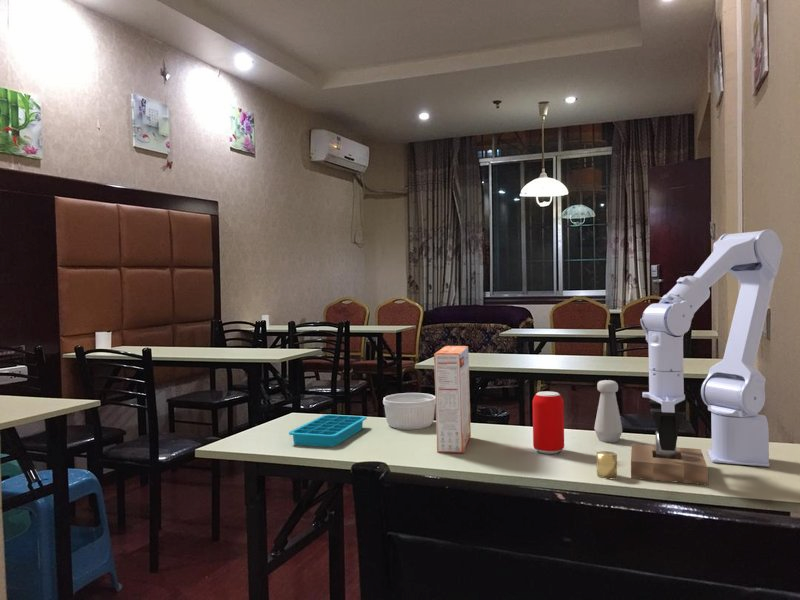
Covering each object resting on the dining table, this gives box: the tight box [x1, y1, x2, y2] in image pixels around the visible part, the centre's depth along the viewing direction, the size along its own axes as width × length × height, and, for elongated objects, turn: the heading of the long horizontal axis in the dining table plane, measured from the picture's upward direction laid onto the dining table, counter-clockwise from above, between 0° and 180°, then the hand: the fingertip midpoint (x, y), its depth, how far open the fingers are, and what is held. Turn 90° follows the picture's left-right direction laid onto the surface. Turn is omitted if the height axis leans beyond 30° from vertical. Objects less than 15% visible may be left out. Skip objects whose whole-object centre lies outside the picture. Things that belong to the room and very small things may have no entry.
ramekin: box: [382, 392, 436, 431], centre depth 149 cm, size 13×13×7 cm
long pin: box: [655, 430, 677, 459], centre depth 108 cm, size 3×3×7 cm
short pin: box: [596, 450, 618, 480], centre depth 106 cm, size 3×3×4 cm
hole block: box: [630, 443, 709, 486], centre depth 108 cm, size 12×12×3 cm
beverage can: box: [532, 390, 565, 455], centre depth 123 cm, size 6×6×12 cm
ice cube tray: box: [288, 414, 367, 448], centre depth 140 cm, size 12×20×3 cm, turn 162°
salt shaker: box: [593, 379, 623, 443], centre depth 131 cm, size 6×6×13 cm
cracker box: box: [433, 345, 472, 454], centre depth 129 cm, size 14×6×21 cm, turn 167°
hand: (666, 444), depth 108 cm, fingers open, 7 cm apart
